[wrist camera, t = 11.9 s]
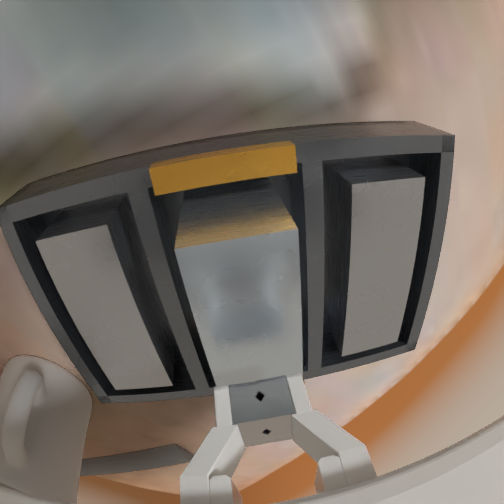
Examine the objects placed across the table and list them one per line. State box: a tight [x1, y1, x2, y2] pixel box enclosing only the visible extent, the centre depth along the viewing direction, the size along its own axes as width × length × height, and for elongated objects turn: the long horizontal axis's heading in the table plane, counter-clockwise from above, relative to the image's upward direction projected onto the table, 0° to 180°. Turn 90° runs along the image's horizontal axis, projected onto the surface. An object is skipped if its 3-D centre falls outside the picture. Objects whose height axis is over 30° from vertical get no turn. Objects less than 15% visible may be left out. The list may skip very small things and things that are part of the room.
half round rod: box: [80, 444, 194, 476], centre depth 29 cm, size 4×20×2 cm, turn 116°
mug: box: [0, 355, 92, 504], centre depth 16 cm, size 12×8×11 cm
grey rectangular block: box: [174, 177, 303, 386], centre depth 14 cm, size 4×10×6 cm, turn 7°
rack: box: [0, 121, 455, 403], centre depth 16 cm, size 21×14×4 cm
